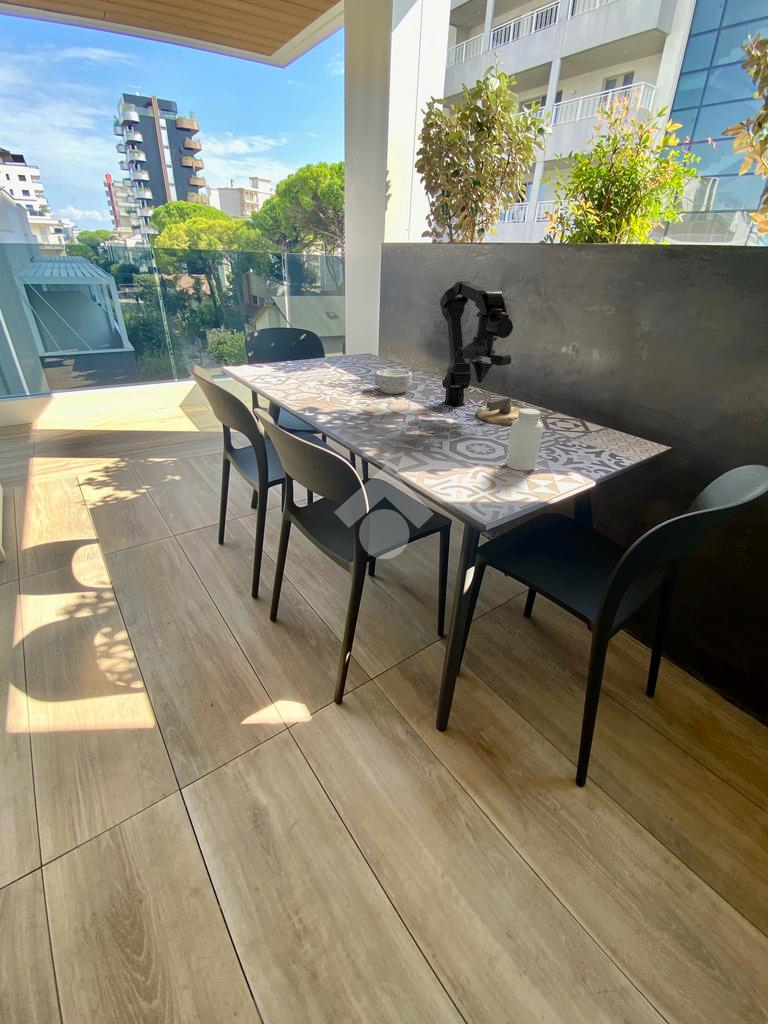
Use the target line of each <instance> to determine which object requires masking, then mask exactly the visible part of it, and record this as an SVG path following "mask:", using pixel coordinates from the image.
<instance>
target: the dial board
mask: <svg viewBox="0 0 768 1024" xmlns="http://www.w3.org/2000/svg"><path fill="white" fill-rule="evenodd" d="M486 407H487V405H484V406H481V407H478V408H477V410H476V417H478V418H479V419H480V420H482V421H484V422H488V423H490V424H495V425H500V426H501V425H503V426H511V425H512V423H513V422H514V421H515V420H517V419H518V413H519V410H520V409H522V408H520V407H517V406H511V412H510V413H500V412H499V409H498V410H494V411H491V412H490V411H485V412H481V409H484V408H486Z"/></svg>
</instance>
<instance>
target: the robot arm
mask: <svg viewBox="0 0 768 1024" xmlns="http://www.w3.org/2000/svg"><path fill="white" fill-rule="evenodd" d="M469 301H472V302H474V304H475V307H476V308H477V309H478V310H479V311H478V312H477V313H476V315H475V316H476V318H478V322H477V323H478V324H477V329H476V330H477V331H476V335H475V336H473V338H472V342H471V343H468V344H467V345H466V346H464V340H463V330H462V329H463V328H462V317H463V315H464V312H465V309H466V307H465V306H466V304H468V302H469ZM439 306H440V310H441V314H442V316H443V317H444V319H445V320H446V321H447V331H448V332H447V333H448V343H449V344H448V346H449V357H450V363H449V364H448V367H447V369H446V375H445V377H444V378H443V379H442V382H441V383H442V388H443V389H445V397H444V401H442V402H441V404H443V405H447V406H449V407H453V408H454V407H460V406H463V405H466V403H465V402H464V400H465V390H467V389H469V385H470V384H471V380H472V371H471V364H472V366H473V368H474V370H475V371H474V372H475V376H476V381H477V383H479V384H480V383H482V382H483V381H484V379H485V377H486V375H487V374H488V373H489V370H490V369H491V368H492V366H494V365H495V366H507V365H511V364H512V356H511V355H510V354H508V353H507V354H506V353H496V350H494V342H495V341H497V340H498V338H501V339H505V338H507V337H509V336H510V335H511V333H512V332H513V327H514V325H513V322H512V320H511V319H510V318H509V316H510V314H509V313H508V309H507V306H506V302H505V297H504V295H503V292H502V291H501V290H494V289H488V290H487V289H484V288H482V287H479V286H477V284H474V283H472V282H470V281H463V280H462V281H460V280H459V281H457V282H455V284H454V285H453V286H452V287H450V288H449V289H447V290H446V291H444V293H443V294H442V296H441V297H440V301H439ZM495 353H496V354H495ZM466 359H468V361H469V362H467V361H466Z"/></svg>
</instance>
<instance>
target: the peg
mask: <svg viewBox="0 0 768 1024" xmlns="http://www.w3.org/2000/svg"><path fill="white" fill-rule="evenodd" d="M511 400H512V399H511V397H509V396H503V397H501V398H496V399H491V400H488V401H486V406H487V407H486V408H484V409H481V412H485V411H490V412H491V411H494V410H498V409H499V412H500V413H510V412H511V406H512V404H511ZM512 407H513V406H512Z"/></svg>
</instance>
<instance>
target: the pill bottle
mask: <svg viewBox="0 0 768 1024" xmlns="http://www.w3.org/2000/svg"><path fill="white" fill-rule="evenodd" d="M540 418H541V411H540V410H538V409H534V408H521V409H520V410H519V413H518V419H517V420H515V421H514V422H513V423H512V425H510V432H509V438H508V445H507V451H506V456H505V464H506V466H507V467H508V468H510V469H512V470H515V471H524V472H525V471H526V472H528V471H529V472H530V471H533V470H534V469H535V468H536V465H537V463H538V462H537V461H538V457H539V451H540V447H541V442H542V441H541V440H542V437H543V431H544V425H543V424H542V422H541V421H540Z"/></svg>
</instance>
